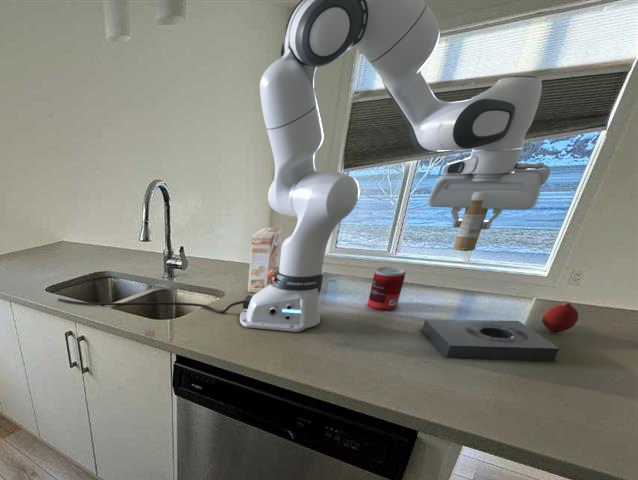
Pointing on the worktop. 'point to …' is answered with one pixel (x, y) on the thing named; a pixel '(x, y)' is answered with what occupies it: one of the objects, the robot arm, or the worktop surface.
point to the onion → (560, 317)
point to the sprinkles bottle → (471, 224)
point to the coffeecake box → (263, 257)
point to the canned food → (386, 288)
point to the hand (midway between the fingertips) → (470, 228)
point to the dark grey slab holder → (488, 340)
